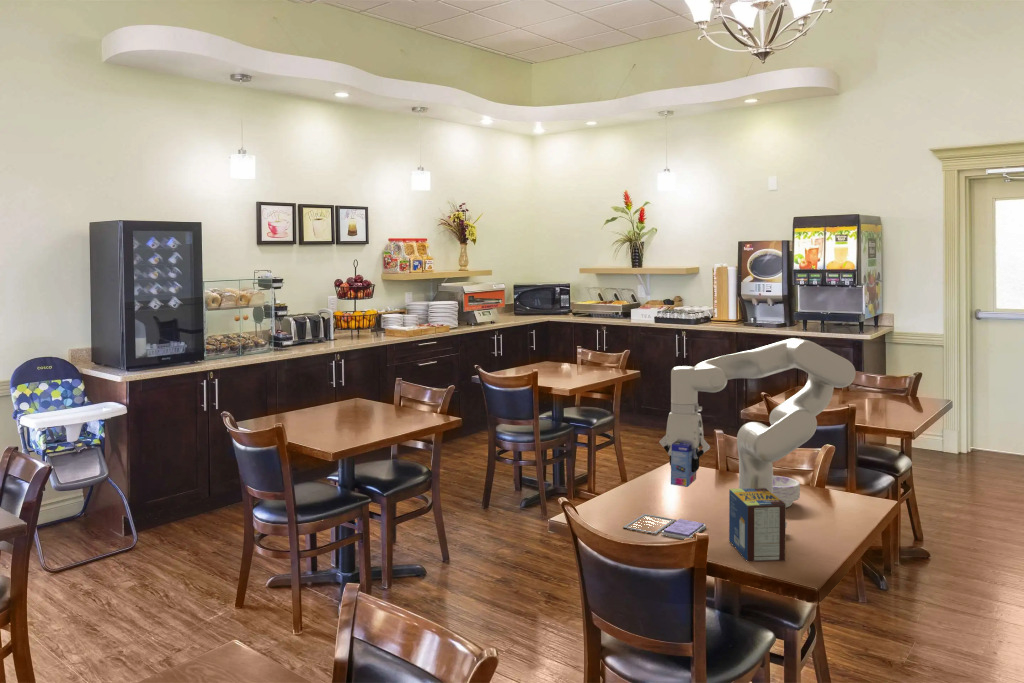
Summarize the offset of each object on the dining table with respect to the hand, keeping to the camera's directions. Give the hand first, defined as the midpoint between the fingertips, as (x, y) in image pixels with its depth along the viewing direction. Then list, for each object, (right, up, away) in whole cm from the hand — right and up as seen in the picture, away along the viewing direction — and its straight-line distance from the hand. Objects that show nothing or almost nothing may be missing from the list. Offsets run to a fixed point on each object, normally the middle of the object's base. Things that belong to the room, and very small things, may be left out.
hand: (684, 469), depth 224 cm
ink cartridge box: (0, -4, 0) cm, 4 cm away
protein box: (+16, -20, -14) cm, 30 cm away
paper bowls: (+35, -16, +26) cm, 47 cm away
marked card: (-9, -18, +8) cm, 22 cm away
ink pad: (0, -19, +2) cm, 19 cm away
